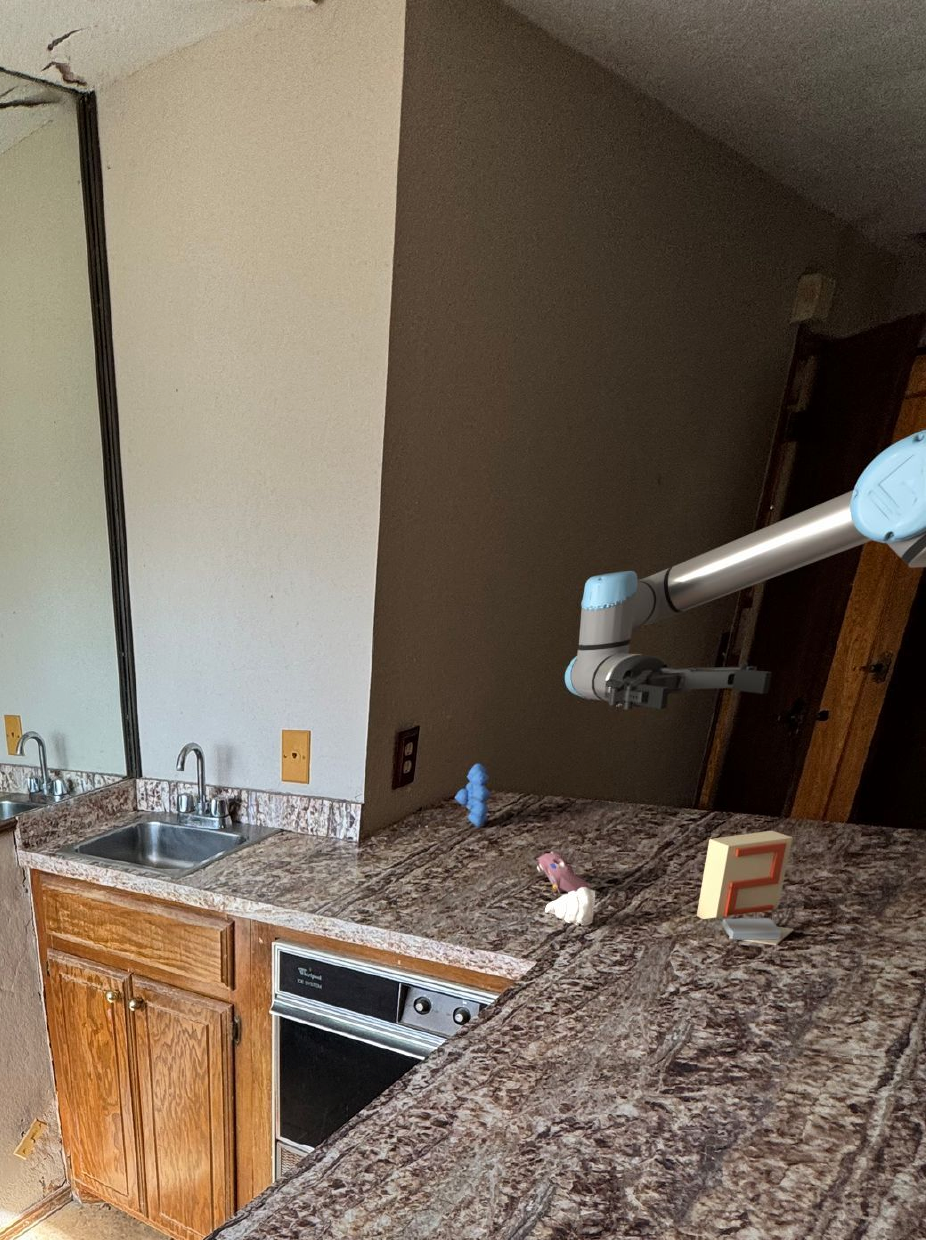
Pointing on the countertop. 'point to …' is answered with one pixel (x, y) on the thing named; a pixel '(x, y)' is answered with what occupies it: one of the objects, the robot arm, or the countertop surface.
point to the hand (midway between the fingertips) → (716, 690)
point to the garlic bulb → (574, 906)
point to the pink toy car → (560, 873)
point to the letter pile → (755, 930)
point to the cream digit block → (743, 874)
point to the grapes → (475, 795)
